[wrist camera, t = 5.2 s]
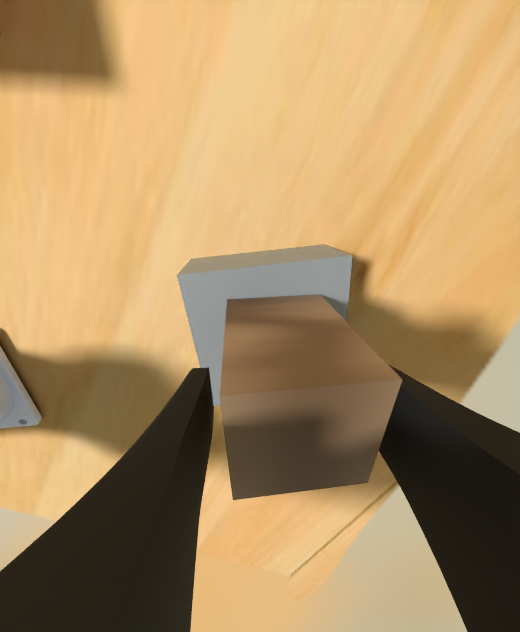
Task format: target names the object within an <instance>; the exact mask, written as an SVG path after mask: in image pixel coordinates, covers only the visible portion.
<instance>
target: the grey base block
mask: <svg viewBox="0 0 520 632" xmlns="http://www.w3.org/2000/svg"><path fill="white" fill-rule="evenodd" d="M352 257H353V255H350V254H348V253H345V252H342V251H340V250H337V249H334V248H332V247H329V246H327V245H315V246H306V247H296V248H287V249H278V250H269V251H260V252H250V253H241V254H232V255H223V256H214V257H205V258H195V259H191V260H190V261H189V262H188V263H187V264H186V265H185V267H184V268H183V269H182V270H181V271H180V272H179V273H178V275H177V277H178V281H179V285H180V289H181V293H182V297H183V301H184V305H185V309H186V313H187V317H188V321H189V325H190V329H191V333H192V337H193V340H194V344H195V348H196V352H197V356H198V360H199V364H200V368H207V367H209V372H210V380H211V388H212V396H213V405H214V406H218V405H221V403H220V385H221V372H222V358H223V345H224V332H225V319H226V306H227V299H243V298H262V297H281V296H300V295H319V294H320V295H321V296H322V297H323V298H324V299H325V300H326V301H327V302H328V303H329V304H330V305H331V306H332V307H333V308H334V309H335V310H336V311H337V312H338V313H339V314H340V315H341V316H342V317H343V319H344V320H345V321H346V322H347V313H348V302H349V290H350V279H351V268H352Z"/></svg>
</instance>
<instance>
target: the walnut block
mask: <svg viewBox="0 0 520 632" xmlns="http://www.w3.org/2000/svg"><path fill="white" fill-rule="evenodd" d="M401 383H402V379H401V378H400V376H399V375H398V374H397V373H396V372H395V371H394V370H393V369H392V368H391V367H390V366H389V365H388V364H387V363H386V362H385V361H384V360H383V359H382V358H381V357H380V356H379V355H378V354H377V353H376V352H375V351H374V350H373V349H372V348H371V346H370V345H369V344H368V343H367V342H366V341H365V340H364V339H363V338H362V337H361V336H360V335H359V334H358V333H357V332H356V331H355V330H354V329H353V328H352V327H351V326H350V325H349V324H348V323H347V322H346V321H345V320H344V319H343V317H342V316H341V315H340V314H339V313H338V312H337V311H336V310H335V309H334V308H333V307H332V306H331V305H330V304H329V303H328V302H327V301H326V300H325V299H324V298H323V297H322V296H321V295H320V294H319V295H300V296H281V297H262V298H243V299H227V306H226V319H225V332H224V345H223V358H222V372H221V385H220V403H221V410H222V418H223V426H224V434H225V442H226V449H227V457H228V465H229V473H230V481H231V488H232V496H233V500H237V499H245V498H253V497H261V496H269V495H276V494H284V493H292V492H300V491H308V490H315V489H323V488H331V487H339V486H347V485H354V484H362V483H367V482H368V479H369V476H370V474H371V471H372V468H373V465H374V462H375V459H376V456H377V453H378V450H379V447H380V444H381V441H382V438H383V435H384V433H385V430H386V427H387V424H388V421H389V418H390V415H391V412H392V409H393V406H394V403H395V400H396V397H397V395H398V392H399V389H400V386H401Z"/></svg>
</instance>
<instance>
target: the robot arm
mask: <svg viewBox="0 0 520 632" xmlns="http://www.w3.org/2000/svg"><path fill="white" fill-rule="evenodd" d="M389 366H390V365H389ZM390 367H391V368H392V369H393V370H394V371H395V372H396V373H397V374H398V375H399V376H400V378H401V379H402V383H401V386H400V389H399V392H398V395H397V397H396V400H395V403H394V406H393V409H392V412H391V415H390V418H389V421H388V424H387V427H386V430H385V433H384V435H383V438H382V441H381V444H380V447H379V452H380V453H381V455H382V457H383V458H384V460H385V462H386V463H387V465H388V467H389V468H390V470H391V472H392V473H393V475H394V477H395V478H396V480H397V482H398V484H399V485H400V487H401V489H402V491H403V493H404V494H405V496H406V498H407V500H408V502H409V504H410V506H411V508H412V510H413V513H414V514H415V517H416V518H417V520H418V523H419V525H420V527H421V529H422V531H423V533H424V535H425V537H426V539H427V541H428V544H429V546H430V548H431V550H432V552H433V554H434V556H435V558H436V560H437V563H438V565H439V567H440V569H441V572H442V574H443V576H444V578H445V581H446V583H447V585H448V588H449V590H450V592H451V594H452V597H453V599H454V601H455V603H456V606H457V608H458V610H459V613H460V615H461V617H462V619H463V622H464V624H465V627H466V629H467V631H468V632H520V433H519V432H517V431H514V430H512V429H510V428H508V427H506V426H503V425H501V424H499V423H497V422H495V421H493V420H491V419H488V418H486V417H484V416H482V415H480V414H478V413H476V412H474V411H472V410H470V409H468V408H466V407H464V406H463V405H461V404H459V403H457V402H455V401H453V400H451V399H449V398H447V397H445V396H444V395H442V394H440V393H438V392H436V391H434V390H433V389H431V388H429V387H427V386H425V385H424V384H422V383H420V382H418V381H417V380H415V379H413V378H411V377H410V376H408V375H406V374H404V373H403V372H401V371H399V370H397V369H396V368H394V367H392V366H390ZM213 413H214V405H213V396H212V388H211V380H210V372H209V367H207V368H193V369H192V370H191V371H190V372H189V373H188V375H187V376H186V378H185V379H184V381H183V382H182V384H181V385H180V387H179V388H178V389H177V391H176V392H175V394H174V395H173V396H172V398H171V399H170V400H169V402H168V403H167V404H166V406H165V407H164V408H163V410H162V411H161V412H160V413H159V415H158V416H157V417H156V418H155V420H154V421H153V422H152V423H151V424H150V426H149V427H148V428H147V429H146V430H145V432H144V433H143V434H142V435H141V436H140V438H139V439H138V440H137V441H136V442H135V443H134V444H133V446H132V447H131V448H130V449H129V450H128V451H127V452H126V453H125V454H124V455H123V457H122V458H121V459H120V460H119V461H118V462H117V463H116V464H115V465H114V466H113V467H112V468H111V469H110V470H109V471H108V472H107V473H106V474H105V475H104V476H103V477H102V478H101V479H100V480H99V481H98V482H97V483H96V484H95V485H94V486H93V487H92V488H91V489H90V490H89V491H88V492H87V493H86V494H85V495H84V496H83V497H82V498H81V499H80V500H79V501H78V502H77V503H76V504H75V505H74V506H73V507H72V508H71V509H70V510H68V511H67V512H66V513H65V514H64V515H63V516H62V517H61V518H60V519H59V520H58V521H57V522H56V523H54V524H53V525H52V526H51V527H50V528H49V529H48V530H47V531H46V532H44V533H43V534H42V535H41V536H40V537H39V538H38V539H37V540H35V541H34V542H33V543H32V544H31V545H30V546H29V547H27V548H26V549H25V550H24V551H23V552H22V553H21V554H19V555H18V556H17V557H16V558H15V559H14V560H13V561H12V562H10V563H9V564H8V565H7V566H6V567H5V568H4V569H2V570H1V571H0V632H190V626H191V611H192V599H193V587H194V573H195V561H196V549H197V537H198V525H199V516H200V508H201V501H202V495H203V488H204V482H205V476H206V470H207V464H208V458H209V451H210V445H211V439H212V430H213ZM41 420H42V417H41V415H40V413H39V411H38V410H37V408H36V406H35V405H34V403H33V401H32V399H31V398H30V396H29V394H28V393H27V391H26V389H25V387H24V386H23V384H22V382H21V381H20V379H19V377H18V375H17V374H16V372H15V370H14V369H13V367H12V365H11V364H10V362H9V360H8V358H7V357H6V355H5V353H4V352H3V350H2V348H1V346H0V429H1V428H12V427H24V426H34V425H37V424H39V422H40V421H41Z"/></svg>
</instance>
